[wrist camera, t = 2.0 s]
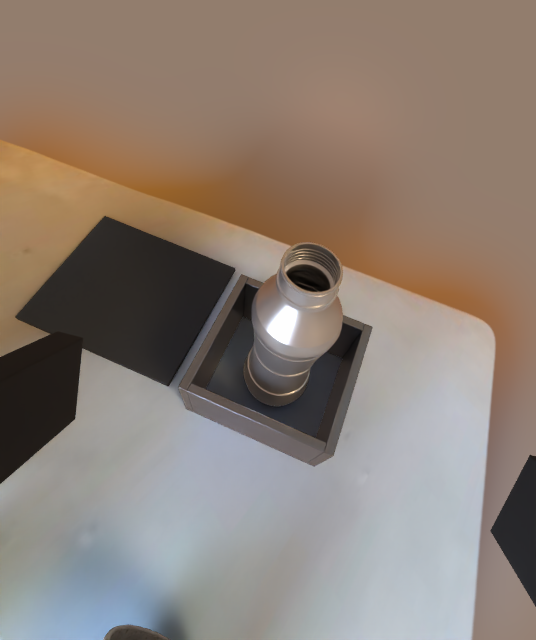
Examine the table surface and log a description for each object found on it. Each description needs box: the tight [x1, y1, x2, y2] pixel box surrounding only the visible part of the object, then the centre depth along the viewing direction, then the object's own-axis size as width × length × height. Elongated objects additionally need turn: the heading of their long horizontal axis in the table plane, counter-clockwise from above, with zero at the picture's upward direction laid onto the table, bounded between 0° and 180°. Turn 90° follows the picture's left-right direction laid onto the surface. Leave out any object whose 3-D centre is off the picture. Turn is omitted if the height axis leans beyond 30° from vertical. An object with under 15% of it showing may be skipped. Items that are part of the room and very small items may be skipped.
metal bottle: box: [243, 242, 343, 406], centre depth 30 cm, size 6×7×20 cm
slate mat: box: [16, 216, 235, 386], centre depth 41 cm, size 18×16×1 cm
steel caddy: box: [178, 274, 372, 466], centre depth 35 cm, size 14×13×7 cm
